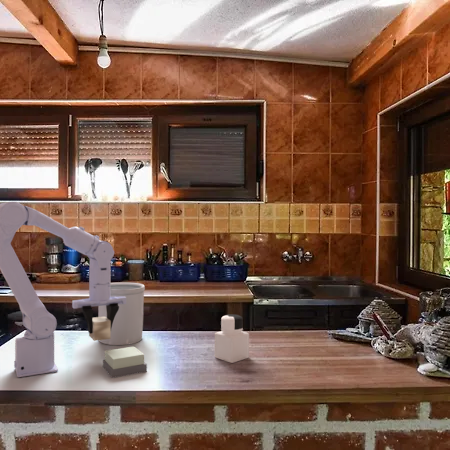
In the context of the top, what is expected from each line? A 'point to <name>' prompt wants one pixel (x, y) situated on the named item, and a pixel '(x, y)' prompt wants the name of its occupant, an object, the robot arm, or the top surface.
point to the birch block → (101, 328)
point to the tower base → (124, 369)
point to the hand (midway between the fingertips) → (99, 331)
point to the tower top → (124, 357)
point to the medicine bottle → (231, 340)
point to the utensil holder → (126, 314)
